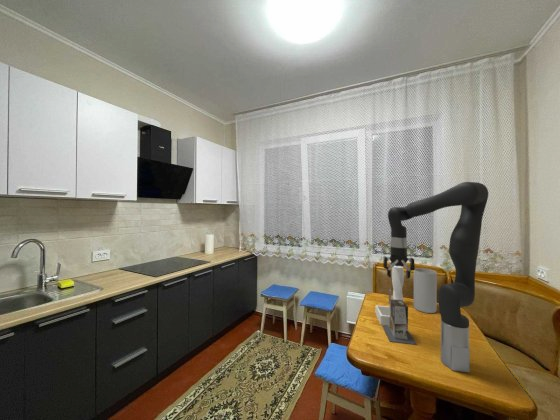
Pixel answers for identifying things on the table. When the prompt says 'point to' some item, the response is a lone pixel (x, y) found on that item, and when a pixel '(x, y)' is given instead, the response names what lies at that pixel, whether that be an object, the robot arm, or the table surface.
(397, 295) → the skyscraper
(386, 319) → the sleeve box
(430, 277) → the cylinder vase
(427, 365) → the table surface
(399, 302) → the coffee box
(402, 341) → the rubber mat
